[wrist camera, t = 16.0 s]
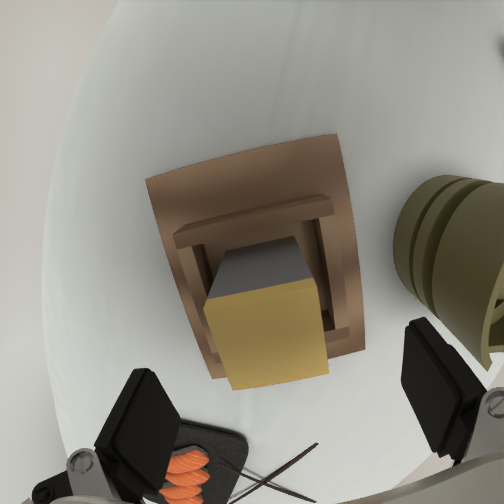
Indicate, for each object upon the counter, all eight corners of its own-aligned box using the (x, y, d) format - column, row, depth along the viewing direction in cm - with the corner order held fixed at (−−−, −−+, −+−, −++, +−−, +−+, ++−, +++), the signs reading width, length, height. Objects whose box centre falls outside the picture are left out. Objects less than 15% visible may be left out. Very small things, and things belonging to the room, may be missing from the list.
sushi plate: (130, 398, 28) (119, 421, 24) (374, 432, 29) (382, 454, 25) (144, 491, 36) (139, 506, 33) (302, 513, 37) (303, 528, 34)
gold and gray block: (225, 250, 21) (203, 309, 13) (293, 235, 21) (316, 286, 12) (242, 310, 23) (233, 390, 14) (305, 297, 22) (329, 373, 13)
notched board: (149, 178, 21) (127, 182, 17) (334, 134, 19) (349, 128, 16) (213, 373, 26) (207, 401, 22) (362, 344, 24) (375, 369, 21)
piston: (542, 364, 11) (449, 388, 11) (470, 300, 23) (379, 296, 23) (590, 216, 8) (517, 170, 8) (496, 190, 20) (405, 161, 20)
